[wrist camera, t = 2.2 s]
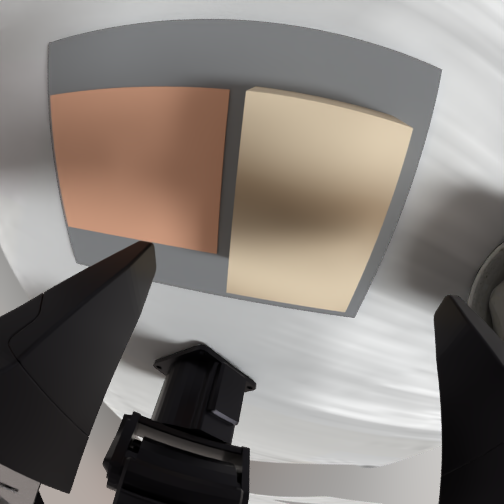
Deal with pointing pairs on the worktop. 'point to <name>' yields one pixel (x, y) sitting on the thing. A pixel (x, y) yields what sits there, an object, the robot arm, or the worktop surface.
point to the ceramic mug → (490, 292)
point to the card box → (310, 196)
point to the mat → (202, 132)
